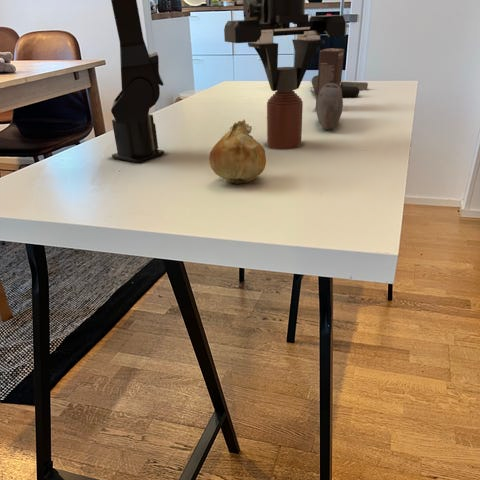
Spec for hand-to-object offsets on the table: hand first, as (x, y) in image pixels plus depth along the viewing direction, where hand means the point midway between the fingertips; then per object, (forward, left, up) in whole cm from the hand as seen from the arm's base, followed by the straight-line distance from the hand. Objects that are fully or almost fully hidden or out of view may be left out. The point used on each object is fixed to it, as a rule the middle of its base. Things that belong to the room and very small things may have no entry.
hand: (285, 89), depth 80 cm
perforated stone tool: (+17, 0, -9) cm, 19 cm away
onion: (-21, -5, -9) cm, 23 cm away
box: (+33, +8, -9) cm, 35 cm away
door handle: (+56, +16, -9) cm, 59 cm away
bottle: (0, 0, -9) cm, 9 cm away
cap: (0, 0, 0) cm, 0 cm away
